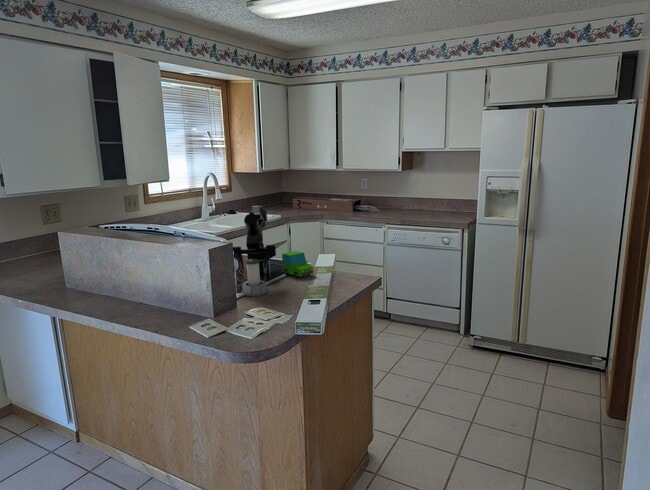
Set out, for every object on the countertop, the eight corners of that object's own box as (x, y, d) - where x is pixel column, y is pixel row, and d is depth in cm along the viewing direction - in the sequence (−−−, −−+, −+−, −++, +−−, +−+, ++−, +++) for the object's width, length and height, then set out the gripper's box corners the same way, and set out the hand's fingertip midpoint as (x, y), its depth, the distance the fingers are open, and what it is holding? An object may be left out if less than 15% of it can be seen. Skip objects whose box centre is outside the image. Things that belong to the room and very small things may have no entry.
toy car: (298, 280, 201) (297, 258, 199) (281, 274, 211) (280, 254, 209) (316, 275, 208) (315, 254, 206) (298, 270, 217) (297, 250, 215)
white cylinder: (256, 287, 190) (254, 257, 187) (263, 290, 186) (261, 260, 183) (245, 290, 186) (243, 260, 183) (252, 293, 182) (250, 262, 180)
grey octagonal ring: (251, 286, 193) (251, 278, 193) (273, 289, 188) (272, 281, 188) (235, 294, 184) (235, 285, 183) (257, 297, 179) (257, 288, 178)
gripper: (229, 228, 189) (228, 260, 181) (274, 226, 191) (275, 258, 183) (233, 242, 199) (232, 273, 190) (275, 240, 200) (276, 270, 192)
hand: (253, 268), depth 189 cm, fingers open, 9 cm apart
